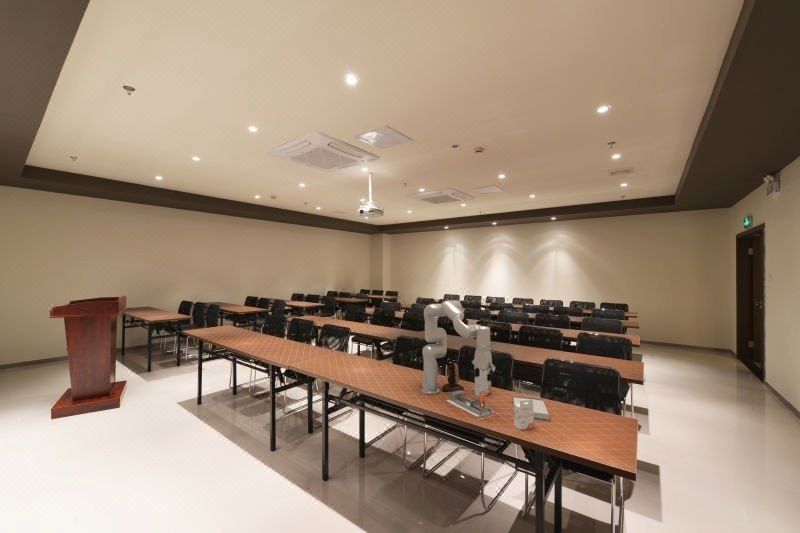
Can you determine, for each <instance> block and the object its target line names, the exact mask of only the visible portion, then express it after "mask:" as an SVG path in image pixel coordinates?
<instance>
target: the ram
mask: <svg viewBox="0 0 800 533" xmlns="http://www.w3.org/2000/svg"><path fill="white" fill-rule="evenodd" d="M470 406H471V407H473V408H475V409H477V410H479V411H481V414H482V413H486V412H488V407H489V406H487V405H486V397H485V392H483V391H480V396H479V398H477V399H472V400H471V401H470Z"/></svg>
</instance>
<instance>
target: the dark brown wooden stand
mask: <svg viewBox="0 0 800 533" xmlns="http://www.w3.org/2000/svg"><path fill="white" fill-rule="evenodd" d="M459 366H460V364H459V361H457V360H452V361H450V362H449V363H448V364H447V369H448V370H449V373H448V375H449V376H447V382H448V383H445V384H442V386H441V387H442V392H448V393H449V392H450V393H451V392H455V391H460V390H461V391H464V392H465V388H464V385H461V384H459V380H460V375H459V374H460V373H459Z"/></svg>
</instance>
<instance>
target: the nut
mask: <svg viewBox="0 0 800 533" xmlns="http://www.w3.org/2000/svg"><path fill="white" fill-rule="evenodd" d="M466 397H467V396H466V395H465V396H464V395H463V396H461V397H460V401H461V402H463V403H466V402H467V398H468V397H467V398H466Z"/></svg>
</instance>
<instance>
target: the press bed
mask: <svg viewBox="0 0 800 533" xmlns="http://www.w3.org/2000/svg"><path fill="white" fill-rule="evenodd" d="M463 395H464V396H466V392H465V390H464V391H461V390H460V391H455V392H450V399H447V400H446V402H448V403H450V404H451V405H453V406H455V407H458V408H459V409H461V410H463V411H465V412H467V413H468V414H471V415H473V416H475V417H474V419H475V420H479V419H483V418H486V417H491V416H495V415H496V413H495V411H494V410H493V408H491V407H489V406H487V407H488V412H486V413H482V414H481V411H479V410H477V409H475V408H473V407H471V406H470V401H471V400H473V399H471V398H470V397H468V396H466V398H467V402H466V403H463V402H461V401H460V397H461V396H463Z"/></svg>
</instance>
